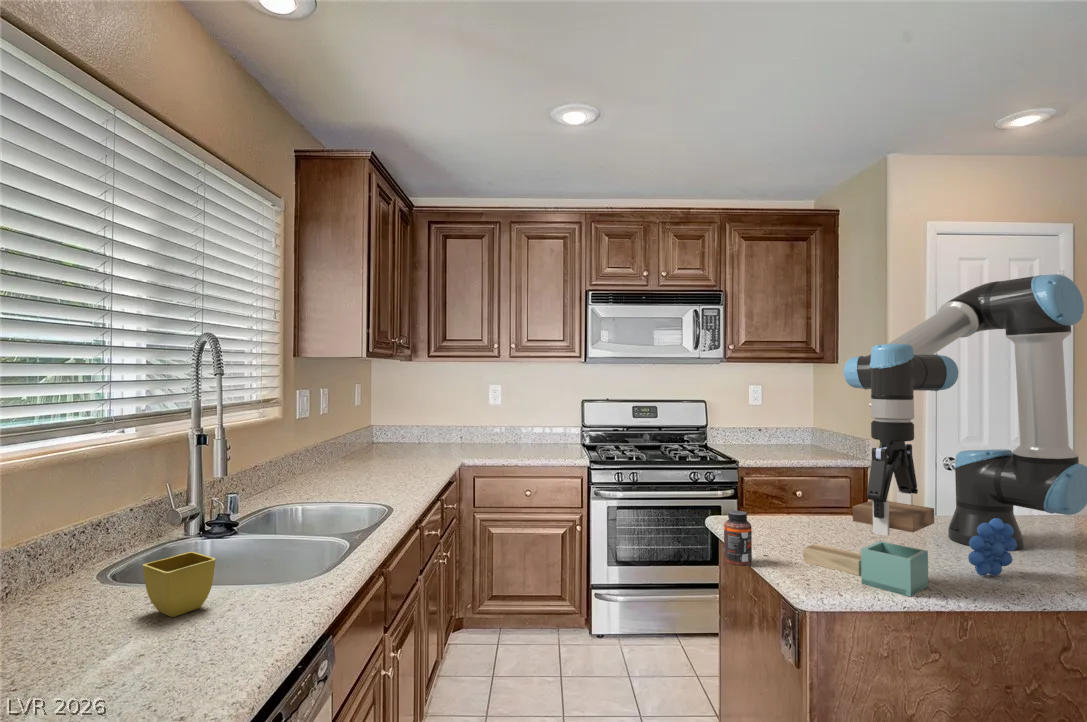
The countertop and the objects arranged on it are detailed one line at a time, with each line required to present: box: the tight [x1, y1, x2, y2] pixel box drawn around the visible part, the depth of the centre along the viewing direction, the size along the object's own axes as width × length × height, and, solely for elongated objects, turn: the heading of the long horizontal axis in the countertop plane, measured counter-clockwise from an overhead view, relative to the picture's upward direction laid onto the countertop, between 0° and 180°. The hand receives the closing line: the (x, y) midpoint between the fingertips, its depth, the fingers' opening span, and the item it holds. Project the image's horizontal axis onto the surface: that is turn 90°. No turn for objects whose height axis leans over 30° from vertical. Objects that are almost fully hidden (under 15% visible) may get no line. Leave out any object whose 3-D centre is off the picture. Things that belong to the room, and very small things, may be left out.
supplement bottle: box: [723, 510, 753, 567], centre depth 134 cm, size 6×6×11 cm
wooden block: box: [802, 543, 861, 576], centre depth 132 cm, size 6×12×3 cm, turn 39°
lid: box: [852, 500, 935, 533], centre depth 120 cm, size 11×11×3 cm
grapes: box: [967, 518, 1017, 577], centre depth 126 cm, size 12×7×12 cm, turn 103°
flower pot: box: [142, 551, 216, 618], centre depth 108 cm, size 9×9×9 cm
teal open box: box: [860, 540, 929, 598], centre depth 120 cm, size 9×9×7 cm
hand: (893, 529), depth 120 cm, fingers closed on lid, 11 cm apart
